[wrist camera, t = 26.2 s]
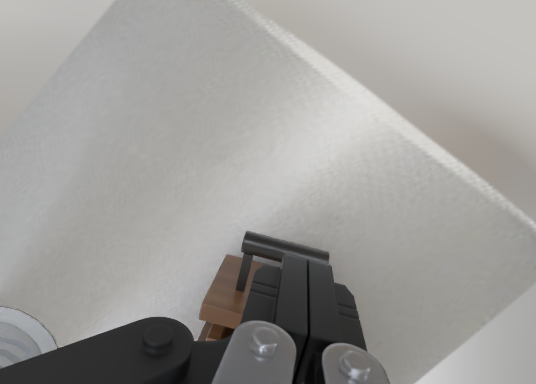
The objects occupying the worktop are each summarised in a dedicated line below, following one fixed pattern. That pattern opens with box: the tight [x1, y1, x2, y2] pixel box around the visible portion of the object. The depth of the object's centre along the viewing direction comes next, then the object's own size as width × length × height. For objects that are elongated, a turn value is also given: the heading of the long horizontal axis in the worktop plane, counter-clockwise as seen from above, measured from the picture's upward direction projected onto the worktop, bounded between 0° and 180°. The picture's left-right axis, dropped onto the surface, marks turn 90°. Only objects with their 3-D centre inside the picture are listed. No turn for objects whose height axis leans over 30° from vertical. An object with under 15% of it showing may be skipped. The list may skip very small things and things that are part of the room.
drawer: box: [199, 231, 329, 341], centre depth 24 cm, size 15×8×7 cm, turn 167°
